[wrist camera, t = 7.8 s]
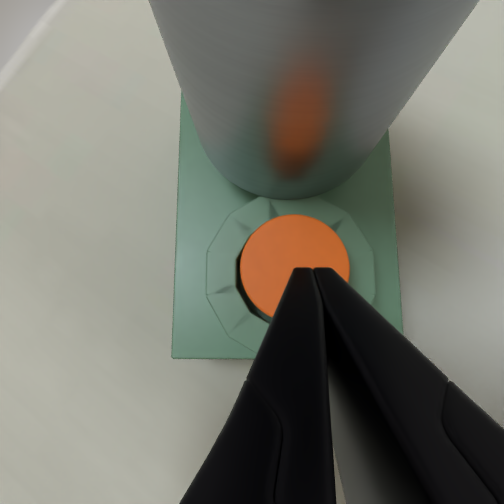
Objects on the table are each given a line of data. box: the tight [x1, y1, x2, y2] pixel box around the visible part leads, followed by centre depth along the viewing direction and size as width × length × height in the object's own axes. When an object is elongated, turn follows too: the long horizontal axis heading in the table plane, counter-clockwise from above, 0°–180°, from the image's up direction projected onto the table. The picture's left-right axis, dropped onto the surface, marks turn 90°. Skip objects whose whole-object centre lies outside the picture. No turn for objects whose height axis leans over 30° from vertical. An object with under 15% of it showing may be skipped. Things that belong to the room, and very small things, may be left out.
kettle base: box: [171, 90, 403, 359], centre depth 17 cm, size 14×10×6 cm
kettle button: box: [240, 214, 350, 317], centre depth 12 cm, size 4×4×2 cm
